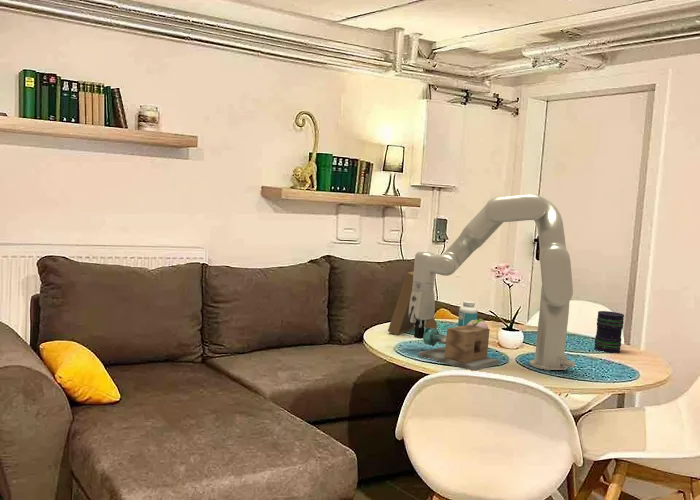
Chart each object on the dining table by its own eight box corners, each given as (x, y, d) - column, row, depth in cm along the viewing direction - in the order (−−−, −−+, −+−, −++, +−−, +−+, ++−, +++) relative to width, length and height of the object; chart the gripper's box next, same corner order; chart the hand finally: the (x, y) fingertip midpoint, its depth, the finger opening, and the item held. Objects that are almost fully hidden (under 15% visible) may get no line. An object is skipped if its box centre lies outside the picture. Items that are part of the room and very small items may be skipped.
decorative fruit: (468, 339, 279) (471, 314, 278) (489, 342, 275) (491, 317, 275) (461, 342, 271) (464, 317, 270) (482, 346, 267) (484, 320, 266)
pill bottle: (478, 334, 290) (481, 302, 289) (471, 337, 283) (474, 304, 282) (461, 331, 294) (464, 299, 292) (454, 333, 287) (457, 301, 286)
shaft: (471, 352, 240) (472, 335, 239) (461, 354, 235) (463, 336, 235) (432, 343, 250) (433, 326, 250) (422, 345, 246) (423, 328, 245)
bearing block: (498, 364, 238) (501, 330, 238) (473, 370, 226) (476, 335, 226) (443, 351, 253) (446, 319, 252) (418, 356, 241) (420, 323, 240)
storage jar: (622, 354, 272) (626, 316, 270) (595, 351, 274) (599, 313, 272) (617, 349, 281) (621, 312, 280) (592, 346, 283) (596, 310, 282)
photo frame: (387, 333, 277) (393, 270, 275) (407, 326, 296) (413, 267, 294) (422, 340, 270) (429, 275, 268) (440, 332, 290) (447, 272, 288)
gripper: (419, 289, 241) (414, 342, 242) (443, 287, 252) (439, 337, 253) (401, 286, 246) (397, 338, 247) (426, 284, 257) (422, 333, 258)
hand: (418, 337), depth 250 cm, fingers closed
